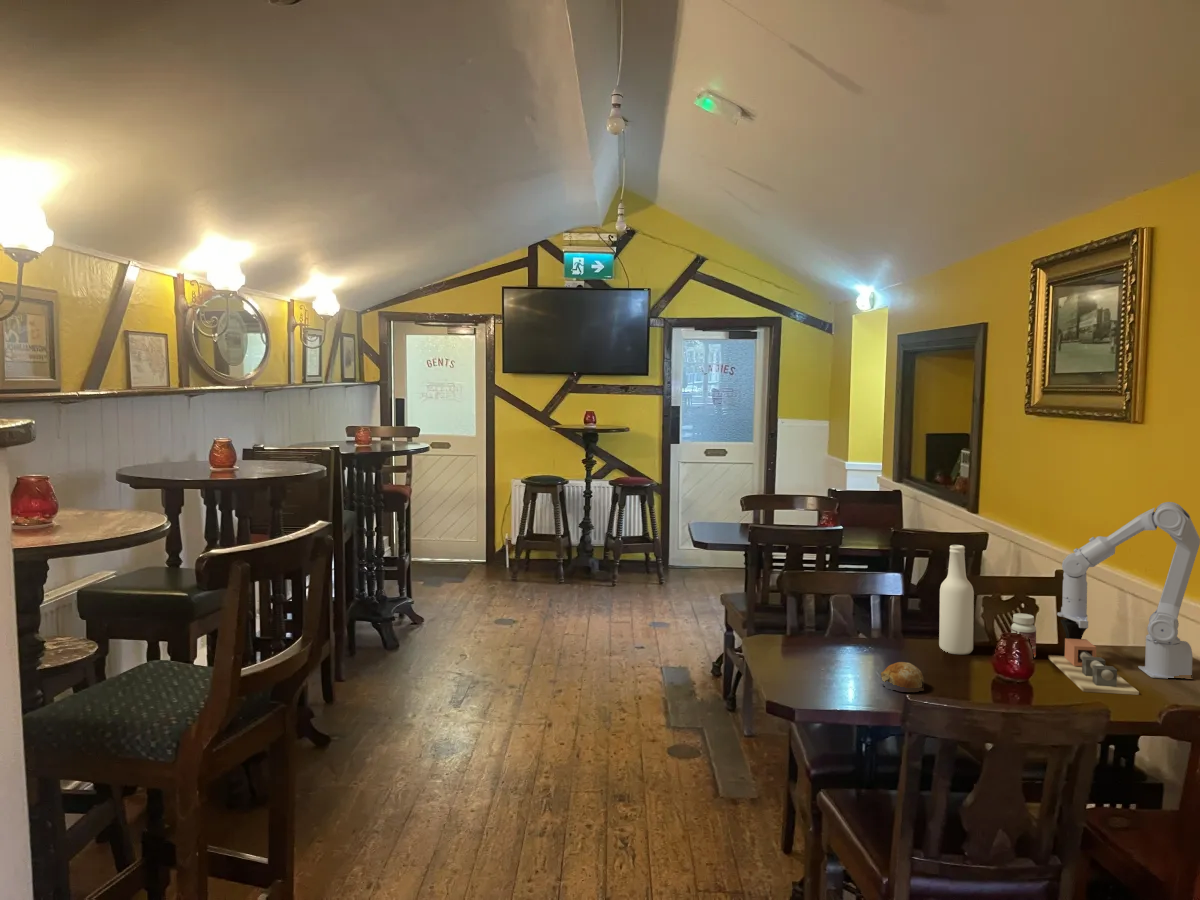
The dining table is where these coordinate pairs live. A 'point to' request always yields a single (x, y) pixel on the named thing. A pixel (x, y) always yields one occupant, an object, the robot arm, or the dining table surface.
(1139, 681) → the dining table surface
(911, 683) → the bread roll
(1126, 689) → the shaft rig
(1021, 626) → the pill bottle
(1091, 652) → the terracotta arch block
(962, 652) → the alcohol
